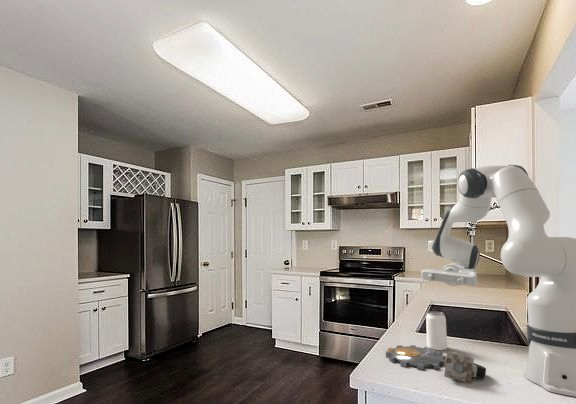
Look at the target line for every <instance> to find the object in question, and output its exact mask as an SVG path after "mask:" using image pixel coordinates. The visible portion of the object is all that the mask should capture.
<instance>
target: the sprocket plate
mask: <svg viewBox="0 0 576 404" xmlns="http://www.w3.org/2000/svg"><path fill="white" fill-rule="evenodd" d="M446 357H447V355H444V351H437V350H432V349H431V348H428V346H424V347H418V346H416V345H413V344H410V345H409V346H403V345H402V344H399V345H396V347H388V348H387V350H386V351H385V358H388V361H389V362H391V363H398V364H400V365H399V366H400V367H404V368H407V367H412V368H416V370H422V371H424V370H425V369H432V370H434V371H436V370H440V368H441V367H445V366H444V362H445V359H446ZM440 366H441V367H440Z"/></svg>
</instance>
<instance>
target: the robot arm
mask: <svg viewBox="0 0 576 404" xmlns="http://www.w3.org/2000/svg"><path fill="white" fill-rule="evenodd" d="M457 188H458V191H459V196H458V199H457V202H456V203H455V204H453V205H450V206H449V208H448V209H447V210H446V213H445V215H444V217H443V219H442V221H441V224H440V226H439V229H438V232H437V234H436V236H435V238H434V240H433V242H432V246H431V249H432V251H433V253H434V254H435V256H437V257H441V258H445V259H448V260H451V261H452V262H450V263H448V264H446V265H444V266H443V267H442V268H441V269H435V268H426V269H422V270H421V272H420V273H421V274H420V276H421V280H423V281H424V280H425V281H428V282H440V283H444V284H446V285H448V286H452V287H456V286H470V287H476V286H477V285H478V274H477V269H475V268H476V267H477V265H478V263H479V260H480V256H481V255H480V254H481V251H480V250H479V247H478V245H476V243H472V242H470V241H466V240H463V239H460V238H457V237H453V236H452V235H450V232H451V230H452V227H453V225H454V224H456V223H475V222H478V221H481V220H482V219H484V218H486V216H487V215H488V213H489V210H490V207H491V203H492V198H496V201H497V203H498V205H499V208H500V210H501V212H502V215H503V217H504V219H505V222H506V224H507V228H508V236H507V240H506V241H505V243H504V244H503V245H502V247H501V250H500V260H501V263H502V265H503V267H504V268H505V270H507V271H508V272H509V273H511V274H512V275H517V276H521V277H526V278H527V277H528V278H539V277H540V280H539V282H538V284H537V286H536V287H535V288H534V290H532V291H531V292H530V293H529V294H528V295H527V297H526V305H527V324H526V341H527V345H528V354H527V355H528V358H527V362H526V363H527V364H526V367H525V372H524V376H525V378H526V379H528V380H529V381H531V382H533V383H535V384H536V385H538V386H541V387H542V388H543V389H545V390H547V391H548V392H549V393H550V392H551V393H555V394H560V395H564V396H568V397H569V396H572V397H576V238H574V237H569V236H548V235H547V234H546V231H545V226H544V225H545V224H546V223H547V222H548V220H549V218H550V215H551V214H550V210H549V208H548V206H547V205H546V203H545V200H544V199H543V197H542V195H541V194H540V192H539V190H538V188H537V186H536V185H535V183H534V182H533V180H532V179H531V178H530V176H529V173H528V172H527V170H526V169H525V168H524V167H523V166H522V165H517V164H508V165H486V166H480V167H476V168H473V167H472V168H469V169H465V170H463V171H461V173H460V175H458V178H457Z"/></svg>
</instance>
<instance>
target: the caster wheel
mask: <svg viewBox="0 0 576 404" xmlns="http://www.w3.org/2000/svg"><path fill="white" fill-rule="evenodd" d="M446 356H447V357H446V359H445V362H444V366H443V367H444V374H443V376H444V378H447V379H450V380H451V379H452V380H455V381H458V382H460V383H461V382H462V383H464V384H467V385H471V383H472V378H479V379H485V378H486V374H487V373H486V372H487V368H486V367H485V366H482V365H480V364H478V363H475V362H474V361H475V358H473V357H470V356H465V355H462V354H459V353H458V352H456V351H447V354H446Z"/></svg>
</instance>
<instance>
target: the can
mask: <svg viewBox="0 0 576 404" xmlns="http://www.w3.org/2000/svg"><path fill="white" fill-rule="evenodd" d="M425 321H426V322H425V323H426V324H425V325H426V327H425V328H426V347H428V348H431V350H433V351H441V352H444V351H446V350H447V348H448V344H447V342H448V341H447V319H446V316H445V313H444V312H442V311H435V310H429V311H427V313H426V316H425Z"/></svg>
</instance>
